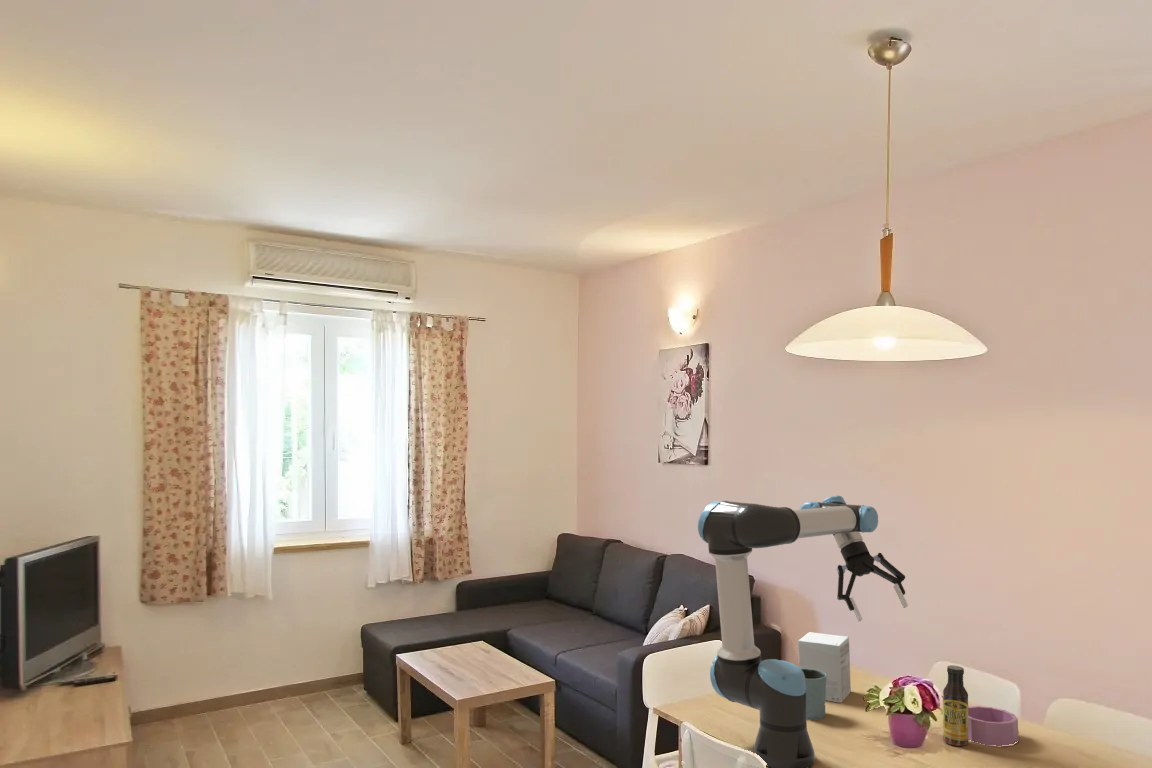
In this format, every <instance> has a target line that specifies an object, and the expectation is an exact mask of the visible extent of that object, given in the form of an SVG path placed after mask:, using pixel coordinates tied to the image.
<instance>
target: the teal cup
mask: <svg viewBox="0 0 1152 768" xmlns="http://www.w3.org/2000/svg"><path fill="white" fill-rule="evenodd" d="M801 670H802V671H803V672H804V675H805V684H806V719H807V720H811V719H812V721H813V720H821V719H824V718H825V716H826V700H825V697H826V693H825V692H826V673H824V672H822V671H820V670H815V669H806V668H803V669H801Z"/></svg>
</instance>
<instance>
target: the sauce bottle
mask: <svg viewBox="0 0 1152 768" xmlns="http://www.w3.org/2000/svg"><path fill="white" fill-rule="evenodd" d="M946 670H947V683H946V685H945V686H944V688H943V690H942V694H943V695H942V697H943V698H942V740H943V742H944V743H947V744H949V745H951V746H955V747H964V746H967V745H968V743H969V740H968V707H969V693H968V691H967V689H966V688H965V687H964V673H965V669H964V667H962V666H959V665H954V664H953V665H948V666H947V669H946Z"/></svg>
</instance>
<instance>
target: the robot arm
mask: <svg viewBox="0 0 1152 768" xmlns="http://www.w3.org/2000/svg"><path fill="white" fill-rule="evenodd" d="M878 524H879V513H878V512H877V510H876V509H875V508H874V507H873V506H870V505H864V504H861V505H859V504H847V502H846V501H845V499H844V497H842V496H841V495H837V494H836V495H831V496H828V497H827V498H825V499H823V500H822V501H821V502H819V501H814V500H813V501H806V502H804V503H802V504H801V506H800V507H799V509H792V508H791V507H787V506H782V507H778V506H771V505H770V506H769V505H765V504H759V503H748V502H737V501H729V500H717V501H712V502H710V503H709V504H707V505H706V506H705V507H704V508H703V511H701V512H700V515H699V516H698V521H697V531H698V535H699V536H700V538H701V539H702V541H703V542H705V543H707V544H708V547H707V548H708V553H709V555H710V556H712V557H713V558H714V561H715V573H716V576H715V577H716V586H717V598H718V608H719V609H718V610H719V621H720V635H721V647H720V648H719V649H718V650H717V653H716V654H717V655H716V656H715V657H714V658H713V660H712V665H711V666H710V668H709V677H710V678H709V679H710V683H711V686H712V688H713V689H714V691H715V692H716V694H717V695H718V696H720V697H721V698H724V699H726V700H728V702H729V701H730V702H732V703H738V704H740V705H743V706H746V707H749V708H752V709H754V710H758V711H759V726H758V727H759V728H758V731H757V734H756V738H755V741H754V745H753V754H754V753H756V754H757V755H759V756H760V757H761V758H762V759H763V760H764V761H765V762H766V763H767V765H768V768H811V767H813V765H814V764H815V762H816V755H815V754H816V753H815V750H814V746H813V743H812V741H811V737H810V734H809V732H808V725H807V724H808V723H807V720H808V719H806V684H805V675H804V672H803V671H802V670H801V669H800V668H799V665H797V664H794V663H793V662H789V661H786V660H783V659H781V660H779V659H775V658H774V659H773V658H769V659H764V660H762V652H761V650H760V648H758V647H757V646H756V645H755V638H754V637H755V636H754V635H755V634H754V626H753V625H754V624H753V623H754V622H753V613H752V602H751V591H750V590H751V588H750V576H749V565H748V556H749V555H750V554H751V553H752V552H753V549H764V548H770V547H778V546H783V545H788V544H789V545H790V544H793V543H795V542H796V541H798V540H799V539H804V538H805V539H806V538H813V537H821V536H827V535H828V536H829V535H833V537H834V539H835V542H836V544H837V546H838V548H839V549H840V553H841V556H842V558H843V560H844V562H845V565H844V564H843V565H842V564H838V565H837V567H836V571H837V575H838V580H837V600H838V601H844V602H845V603H846V605H847V608H848V610H849V612H851V611H853V613H854V616H855V617H856V619H857V621H858V622H861V621H862V620H863V617H862V615H861V613H860V611H859V609H858V606H857V604H856V601H855V600H854V597H853V596H852V597H851V596H850V595H851V593H852V589H853V586H854V583H855V581H856V577H859V578H860V577H863V576H864V575H870V574H871V573H873V574H875V575H877V576H879V577H881V578H882V579H885V580H887V581H889V582H890V583H891V584H894V585H893V588H894V591H895V593H896V596H897V597H898V599H899V601H900V604H901V605H902V608H903V609H905V608H907V607H908V606H909V604H908V602H907V600H906V598H905V596H904V595H906V590H905V588H904V586H903V582H904V581H905V579H906V575H905V574H904V573H902V572H901V571H900V570H898V568H897V567H895V566H894V565H893V564H891V562H889V561H888V560H887V559H886V558H885V557H884V555H883V553H881V552H878V553H877V554H876V555H871V553H870V551H869V549H868V546H867V545H866V543H865V542H864V538H863V536H862V534H861V533H873V532H874V531H875V530H877V527H878ZM875 562H877V563H880V565H881V566H883V568H884V569H886V570H887V571H886V570H883V569H881V568H880V567H879V566H877V565H875V564H874V563H875ZM846 571H848V572H850V573H851V576H850V579H849V581H848V585H847V588H846V591H845V594H844V593H843V592H844V576H845V575H844V574H845V572H846ZM888 571H889V572H888Z"/></svg>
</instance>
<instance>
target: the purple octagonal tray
mask: <svg viewBox="0 0 1152 768" xmlns="http://www.w3.org/2000/svg"><path fill="white" fill-rule="evenodd" d="M1019 737H1020V736H1019V721H1018V717H1017V716H1016V715H1015V714H1014V713H1012V712H1009V711H1007V710H1005V709H1001V708H997V707H992V706H982V705H973V706H969V705H968V739H969V740H968V741H970V740H971V741H970V742H972V741H974V742H973V743H975V742H978V743H981V744H980V745H982V744H985V745H984V746H986V745H996V746H1002V745H1009V744H1014V743H1015V742H1017V741H1020V739H1019ZM978 743H977V744H978Z"/></svg>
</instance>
